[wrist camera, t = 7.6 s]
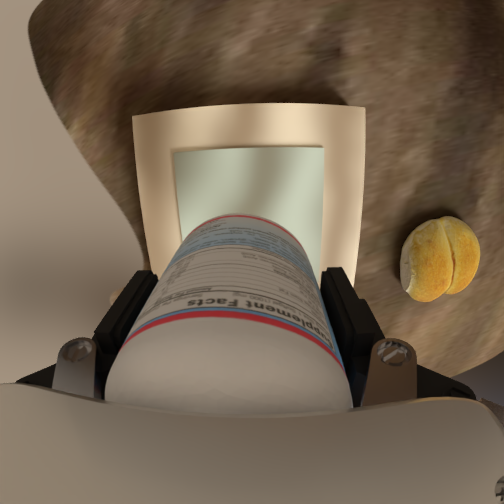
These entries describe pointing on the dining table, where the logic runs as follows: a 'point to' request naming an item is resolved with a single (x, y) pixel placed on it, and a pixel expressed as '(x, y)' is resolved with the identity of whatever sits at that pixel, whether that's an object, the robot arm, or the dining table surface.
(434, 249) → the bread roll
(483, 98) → the dining table surface
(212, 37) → the dining table surface
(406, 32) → the dining table surface
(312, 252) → the birch plinth
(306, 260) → the pill bottle
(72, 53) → the dining table surface
